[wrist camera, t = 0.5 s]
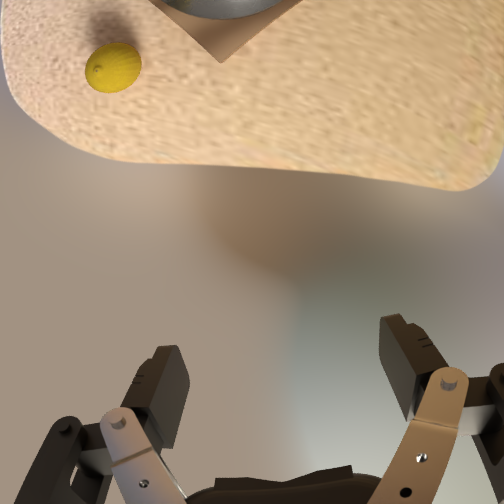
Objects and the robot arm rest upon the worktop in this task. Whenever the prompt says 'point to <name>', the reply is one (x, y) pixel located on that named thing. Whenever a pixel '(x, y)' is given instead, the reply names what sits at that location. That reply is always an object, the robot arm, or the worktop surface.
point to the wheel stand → (224, 27)
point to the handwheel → (222, 8)
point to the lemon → (113, 67)
